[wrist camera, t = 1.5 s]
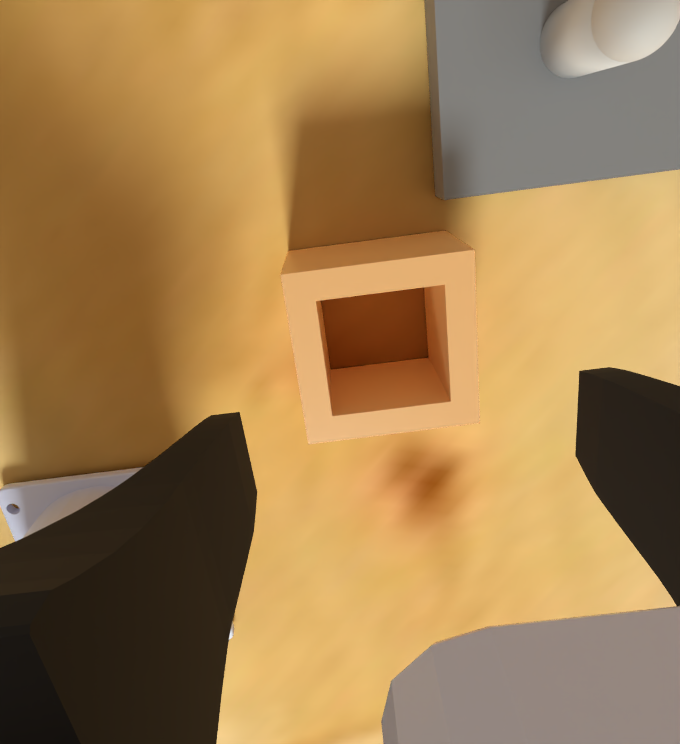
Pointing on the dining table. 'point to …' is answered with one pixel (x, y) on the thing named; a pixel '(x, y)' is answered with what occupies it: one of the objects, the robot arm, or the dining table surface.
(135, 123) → the dining table surface
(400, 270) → the orange loop
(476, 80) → the hook board
